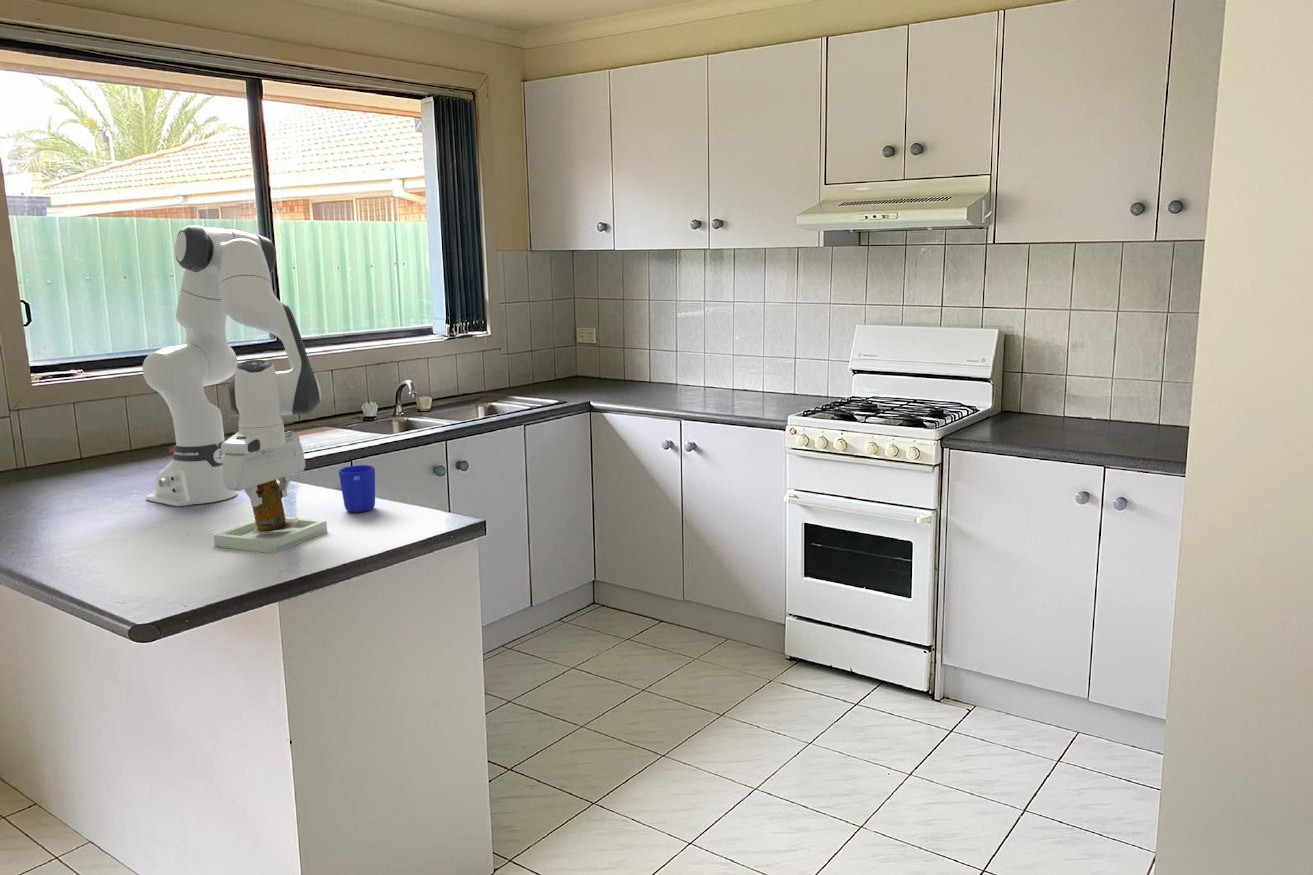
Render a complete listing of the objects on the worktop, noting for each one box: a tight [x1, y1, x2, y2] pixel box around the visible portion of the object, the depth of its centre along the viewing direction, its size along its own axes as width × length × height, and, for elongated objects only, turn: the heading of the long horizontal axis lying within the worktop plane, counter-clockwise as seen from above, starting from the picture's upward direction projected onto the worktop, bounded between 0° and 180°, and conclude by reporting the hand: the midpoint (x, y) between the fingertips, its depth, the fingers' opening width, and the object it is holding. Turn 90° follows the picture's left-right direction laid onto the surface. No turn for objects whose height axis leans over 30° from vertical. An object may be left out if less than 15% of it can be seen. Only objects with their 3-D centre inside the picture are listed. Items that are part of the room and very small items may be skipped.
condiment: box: [251, 479, 300, 534], centre depth 213 cm, size 7×8×12 cm
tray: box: [213, 516, 328, 554], centre depth 214 cm, size 16×16×2 cm
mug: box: [338, 464, 376, 513], centre depth 233 cm, size 8×12×10 cm
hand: (269, 501), depth 213 cm, fingers closed on condiment, 6 cm apart
